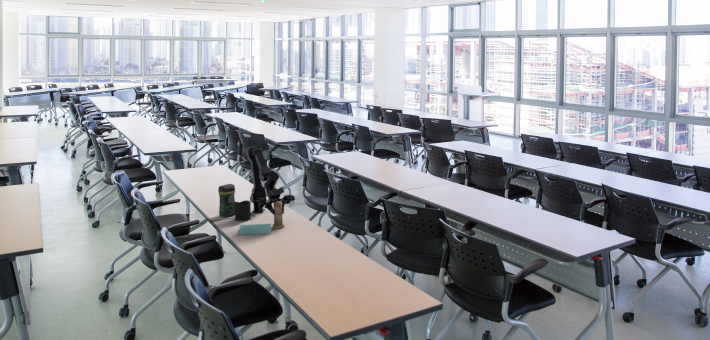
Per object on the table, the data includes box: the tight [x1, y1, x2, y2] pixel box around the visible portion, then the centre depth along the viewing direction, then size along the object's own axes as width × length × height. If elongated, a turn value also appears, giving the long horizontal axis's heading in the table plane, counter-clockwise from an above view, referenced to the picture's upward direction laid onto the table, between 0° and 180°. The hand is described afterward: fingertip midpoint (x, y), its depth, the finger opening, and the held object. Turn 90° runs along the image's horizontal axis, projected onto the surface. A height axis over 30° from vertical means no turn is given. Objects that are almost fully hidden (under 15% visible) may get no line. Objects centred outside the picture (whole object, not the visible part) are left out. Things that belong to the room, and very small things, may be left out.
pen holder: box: [234, 200, 252, 222], centre depth 312 cm, size 9×9×10 cm
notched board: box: [239, 223, 272, 236], centre depth 293 cm, size 12×16×4 cm
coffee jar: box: [217, 183, 236, 218], centre depth 319 cm, size 10×8×19 cm
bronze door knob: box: [272, 201, 285, 230], centre depth 298 cm, size 6×6×14 cm
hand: (279, 214), depth 297 cm, fingers closed on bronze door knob, 5 cm apart
